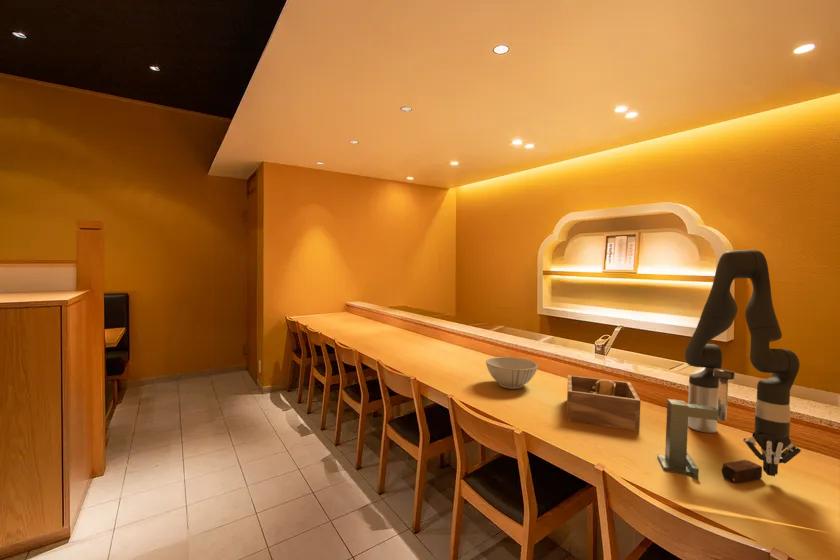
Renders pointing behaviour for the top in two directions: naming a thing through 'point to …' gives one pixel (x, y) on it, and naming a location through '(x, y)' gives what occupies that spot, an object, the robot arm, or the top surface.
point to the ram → (723, 390)
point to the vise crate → (603, 404)
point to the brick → (741, 471)
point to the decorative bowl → (511, 371)
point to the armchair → (604, 388)
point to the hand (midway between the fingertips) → (769, 474)
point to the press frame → (682, 436)
